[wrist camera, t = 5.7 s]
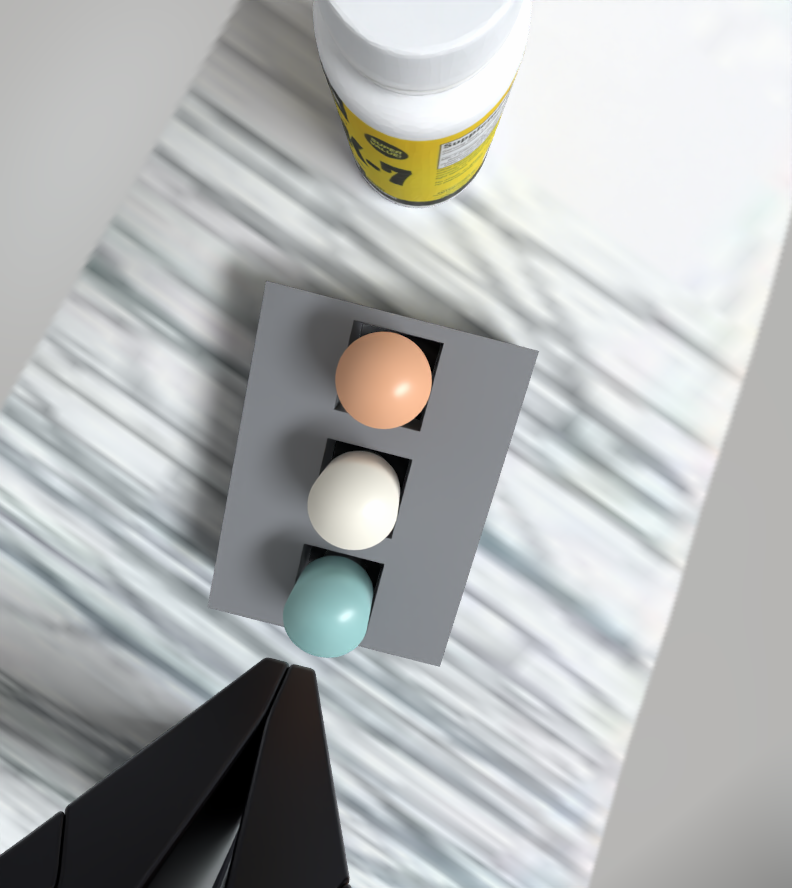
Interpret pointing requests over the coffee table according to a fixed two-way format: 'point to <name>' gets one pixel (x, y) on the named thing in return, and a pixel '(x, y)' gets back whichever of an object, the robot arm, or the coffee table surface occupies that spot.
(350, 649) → the light blue egg
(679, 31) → the coffee table surface
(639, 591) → the coffee table surface
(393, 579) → the panel
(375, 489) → the cream white egg
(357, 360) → the peach orange egg
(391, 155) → the supplement bottle
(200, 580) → the coffee table surface
